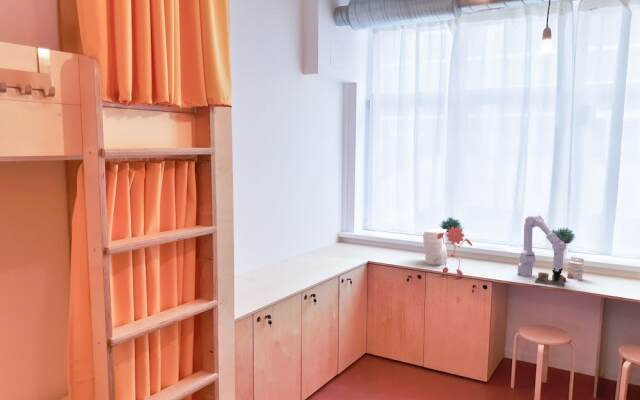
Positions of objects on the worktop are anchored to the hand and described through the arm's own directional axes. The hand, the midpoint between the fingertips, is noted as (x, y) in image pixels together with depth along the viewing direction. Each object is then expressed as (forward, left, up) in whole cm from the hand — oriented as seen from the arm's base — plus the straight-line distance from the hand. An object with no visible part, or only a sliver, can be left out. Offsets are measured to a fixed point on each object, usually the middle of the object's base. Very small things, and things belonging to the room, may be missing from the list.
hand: (556, 279), depth 323 cm
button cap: (+2, +10, -2) cm, 11 cm away
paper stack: (-89, +18, -4) cm, 91 cm away
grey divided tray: (-4, 0, -4) cm, 6 cm away
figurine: (-65, -11, -4) cm, 66 cm away
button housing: (+2, +10, -4) cm, 11 cm away
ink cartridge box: (+10, +26, -4) cm, 28 cm away
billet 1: (-8, 0, -3) cm, 9 cm away
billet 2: (0, 0, -3) cm, 3 cm away
